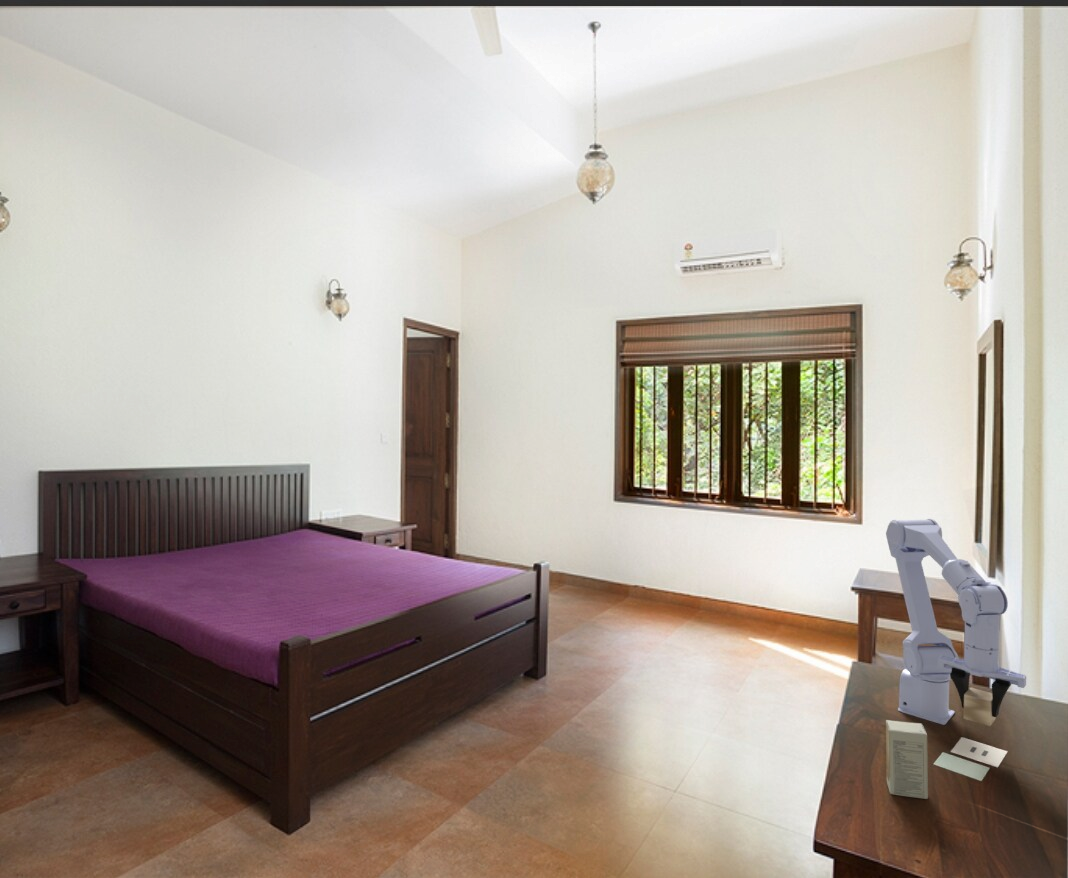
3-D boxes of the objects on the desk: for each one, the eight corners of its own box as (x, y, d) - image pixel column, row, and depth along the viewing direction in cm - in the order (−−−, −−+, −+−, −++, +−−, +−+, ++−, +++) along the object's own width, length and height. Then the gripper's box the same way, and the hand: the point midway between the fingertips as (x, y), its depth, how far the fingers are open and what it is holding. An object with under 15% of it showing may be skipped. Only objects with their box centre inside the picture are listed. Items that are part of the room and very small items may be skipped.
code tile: (950, 752, 134) (950, 751, 134) (961, 737, 139) (961, 736, 139) (997, 768, 128) (997, 767, 128) (1007, 752, 133) (1007, 751, 133)
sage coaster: (933, 765, 129) (933, 764, 129) (942, 753, 133) (942, 752, 133) (981, 782, 123) (981, 780, 123) (989, 769, 128) (989, 767, 128)
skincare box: (922, 786, 122) (924, 723, 122) (928, 800, 118) (929, 734, 118) (884, 781, 125) (885, 718, 124) (888, 794, 120) (889, 729, 120)
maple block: (963, 718, 133) (964, 694, 133) (969, 710, 136) (970, 687, 136) (990, 726, 130) (990, 701, 129) (995, 718, 133) (996, 694, 133)
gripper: (934, 641, 135) (933, 705, 135) (1021, 660, 124) (1019, 730, 125) (944, 632, 139) (943, 694, 140) (1029, 650, 129) (1027, 717, 130)
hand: (979, 710), depth 133 cm, fingers closed on maple block, 4 cm apart
